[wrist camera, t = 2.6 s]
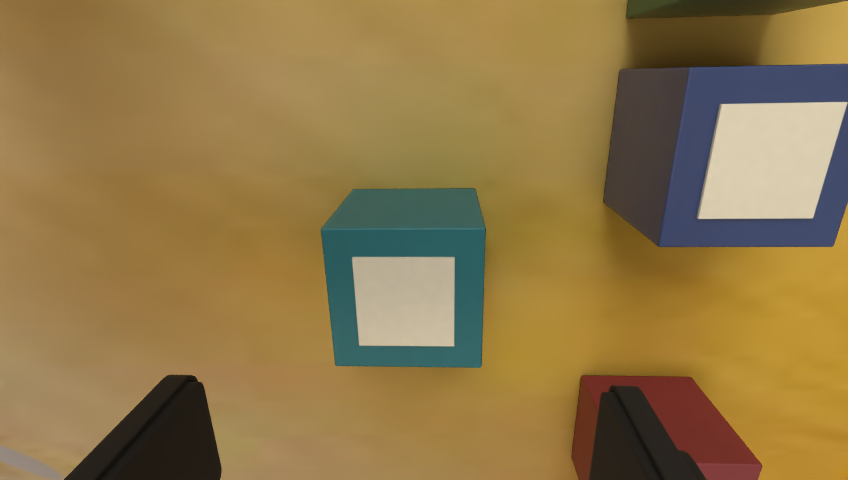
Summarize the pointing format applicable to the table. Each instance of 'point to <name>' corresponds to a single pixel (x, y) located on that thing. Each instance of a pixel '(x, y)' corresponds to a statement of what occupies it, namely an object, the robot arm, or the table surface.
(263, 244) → the table surface
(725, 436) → the burgundy block
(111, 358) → the table surface
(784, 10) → the green block
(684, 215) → the navy block
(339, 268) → the teal block
